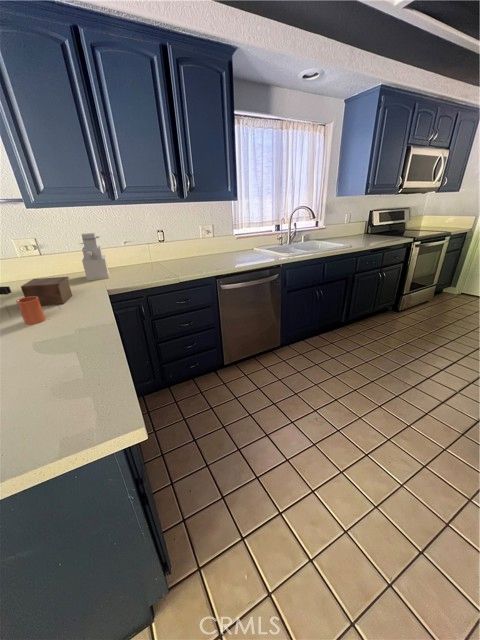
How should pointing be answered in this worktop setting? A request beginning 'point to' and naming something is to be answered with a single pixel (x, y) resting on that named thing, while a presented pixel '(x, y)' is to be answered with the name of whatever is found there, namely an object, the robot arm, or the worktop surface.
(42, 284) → the box lid
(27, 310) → the cup
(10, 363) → the worktop surface
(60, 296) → the box
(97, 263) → the blocky snowman figure
